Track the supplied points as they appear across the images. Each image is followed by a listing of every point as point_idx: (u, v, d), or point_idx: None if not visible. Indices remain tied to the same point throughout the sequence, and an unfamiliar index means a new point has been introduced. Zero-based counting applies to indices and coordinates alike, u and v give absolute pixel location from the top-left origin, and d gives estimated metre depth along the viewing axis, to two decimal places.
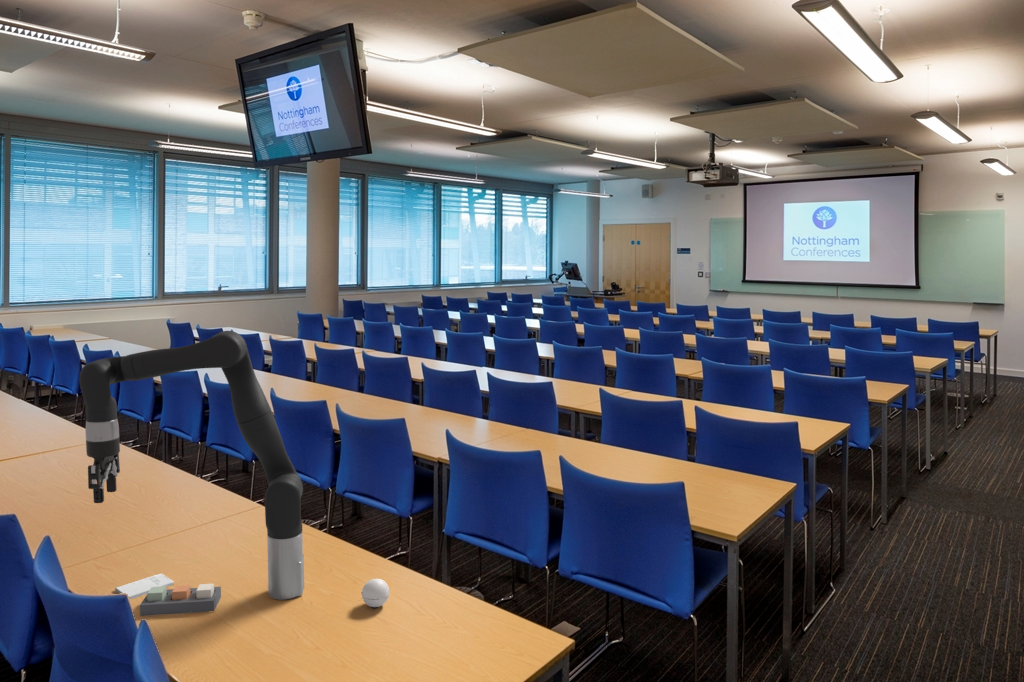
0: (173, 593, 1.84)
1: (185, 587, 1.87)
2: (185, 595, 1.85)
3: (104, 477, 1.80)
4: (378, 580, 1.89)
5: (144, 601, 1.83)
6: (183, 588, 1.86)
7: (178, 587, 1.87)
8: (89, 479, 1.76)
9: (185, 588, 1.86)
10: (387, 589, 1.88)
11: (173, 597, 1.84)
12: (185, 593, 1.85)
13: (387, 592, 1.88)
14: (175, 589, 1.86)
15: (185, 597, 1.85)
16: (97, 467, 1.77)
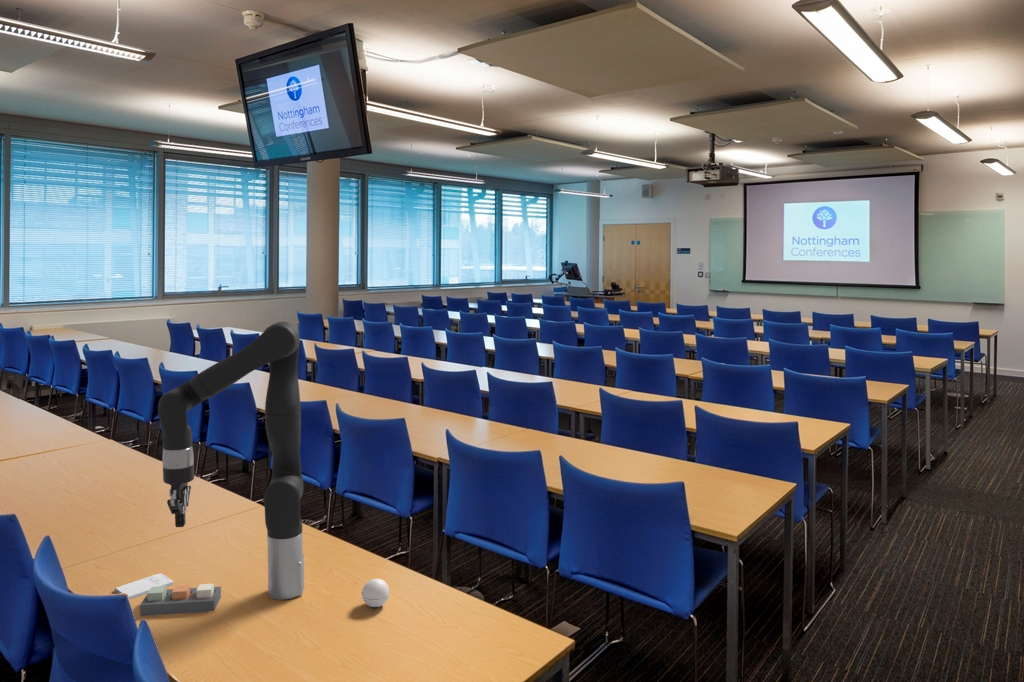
0: (173, 593, 1.84)
1: (185, 587, 1.87)
2: (185, 595, 1.85)
3: (183, 504, 1.87)
4: (378, 580, 1.89)
5: (144, 601, 1.83)
6: (183, 588, 1.86)
7: (178, 587, 1.87)
8: (171, 509, 1.84)
9: (185, 588, 1.86)
10: (387, 589, 1.88)
11: (173, 597, 1.84)
12: (185, 593, 1.85)
13: (387, 592, 1.88)
14: (175, 589, 1.86)
15: (185, 597, 1.85)
16: (176, 503, 1.82)
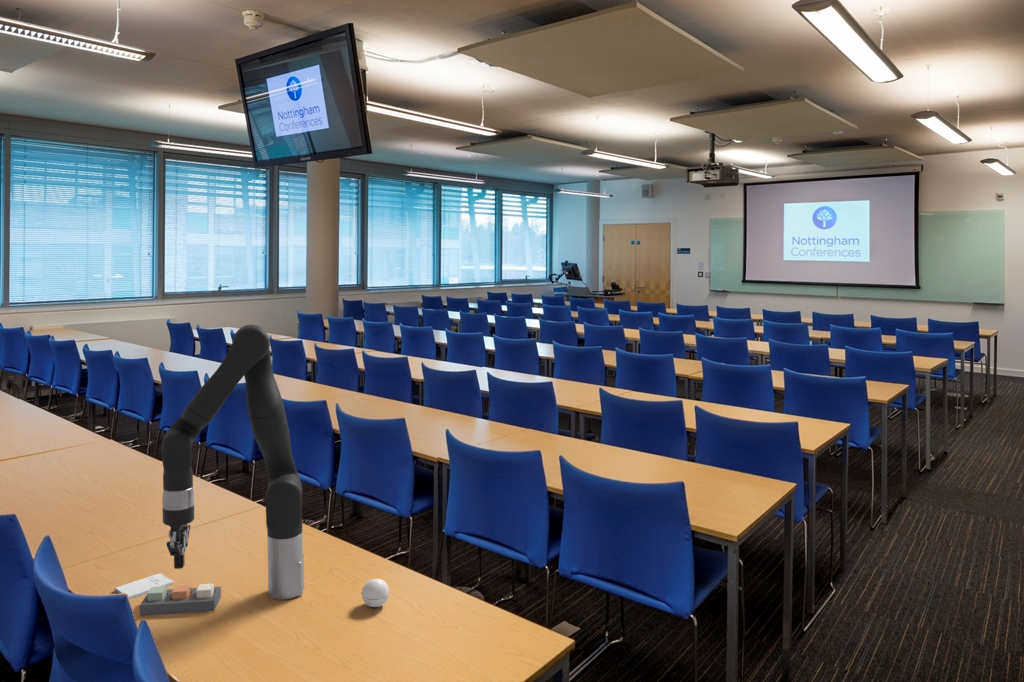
0: (173, 593, 1.84)
1: (185, 587, 1.87)
2: (185, 595, 1.85)
3: (183, 546, 1.84)
4: (378, 580, 1.89)
5: (144, 601, 1.83)
6: (183, 588, 1.86)
7: (178, 587, 1.87)
8: (170, 551, 1.81)
9: (185, 588, 1.86)
10: (387, 589, 1.88)
11: (173, 597, 1.84)
12: (185, 593, 1.85)
13: (387, 592, 1.88)
14: (175, 589, 1.86)
15: (185, 597, 1.85)
16: (176, 545, 1.79)
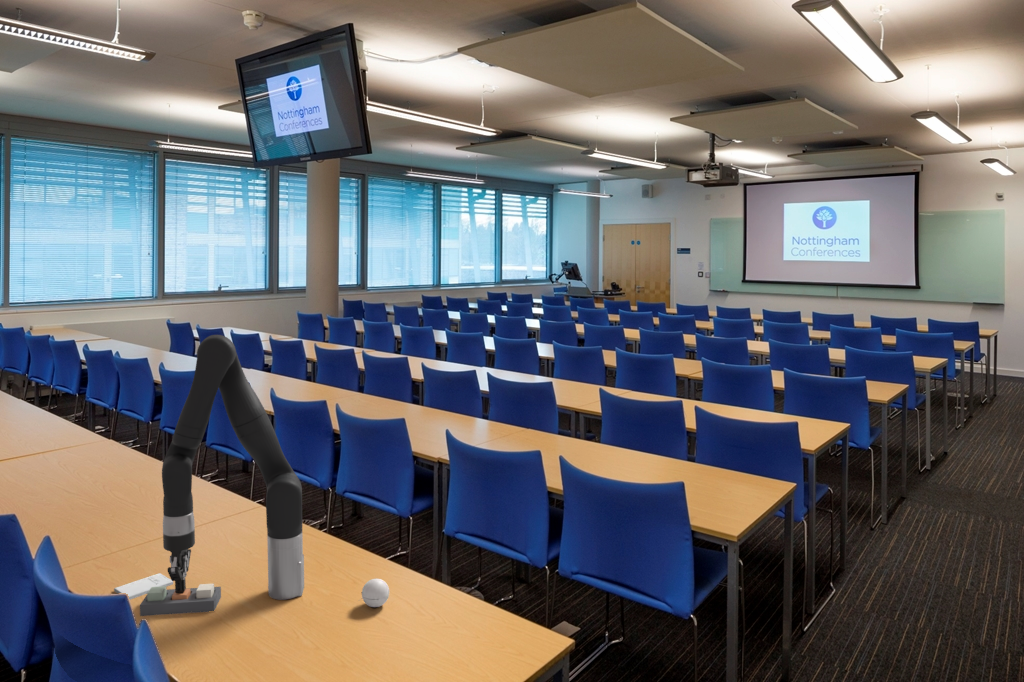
0: (173, 597, 1.84)
1: (185, 590, 1.87)
2: None
3: (183, 571, 1.84)
4: (378, 580, 1.89)
5: (144, 601, 1.83)
6: None
7: None
8: (171, 577, 1.81)
9: (185, 592, 1.86)
10: (387, 589, 1.88)
11: None
12: (185, 597, 1.85)
13: (387, 592, 1.88)
14: (175, 593, 1.86)
15: None
16: (176, 570, 1.80)
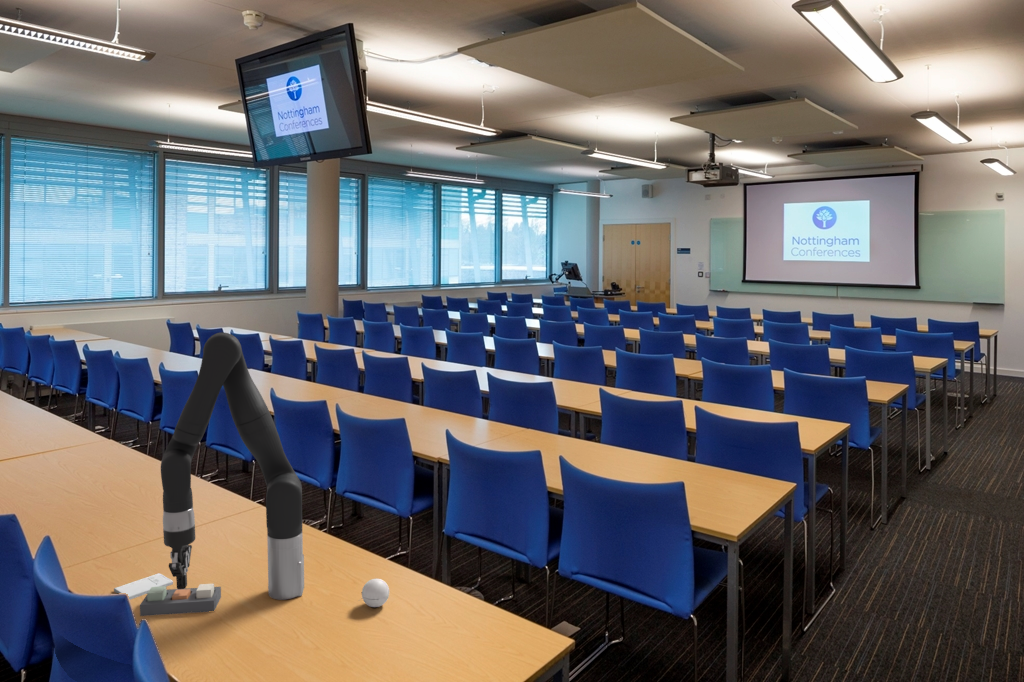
0: (173, 597, 1.84)
1: (185, 591, 1.87)
2: None
3: (185, 566, 1.84)
4: (378, 580, 1.89)
5: (144, 601, 1.83)
6: (183, 592, 1.86)
7: (178, 591, 1.87)
8: (172, 572, 1.81)
9: (185, 593, 1.86)
10: (387, 589, 1.88)
11: None
12: (185, 597, 1.85)
13: (387, 592, 1.88)
14: (175, 593, 1.86)
15: None
16: (177, 566, 1.79)
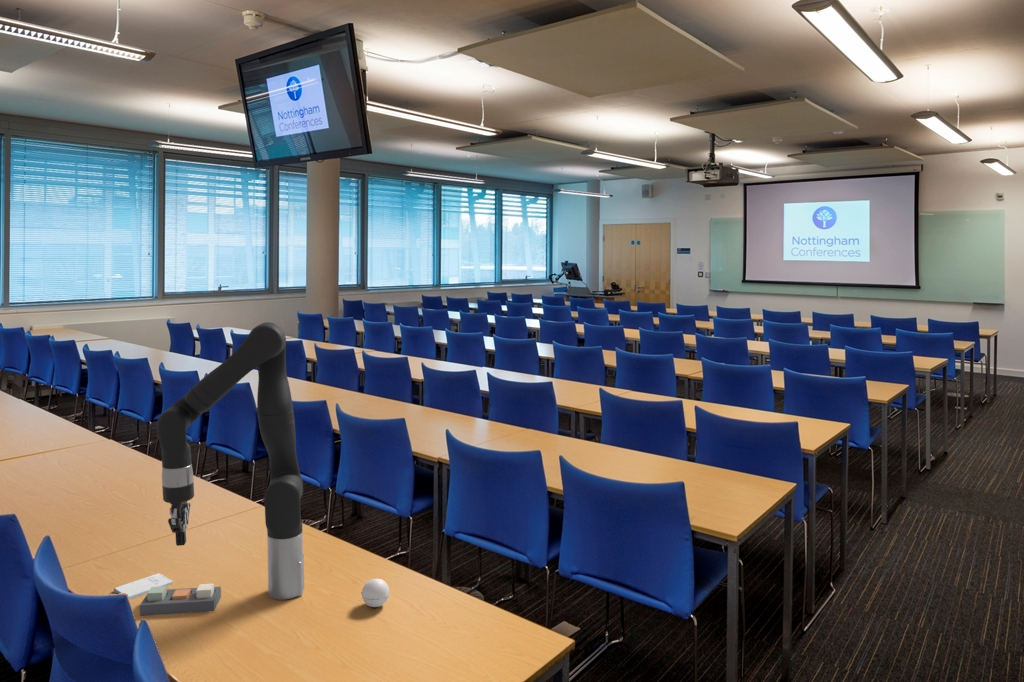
0: (173, 597, 1.84)
1: (185, 591, 1.87)
2: None
3: (184, 522, 1.86)
4: (378, 580, 1.89)
5: (144, 601, 1.83)
6: (183, 592, 1.86)
7: (178, 591, 1.87)
8: (172, 528, 1.83)
9: (185, 593, 1.86)
10: (387, 589, 1.88)
11: None
12: (185, 597, 1.85)
13: (387, 592, 1.88)
14: (175, 593, 1.86)
15: None
16: (177, 521, 1.82)
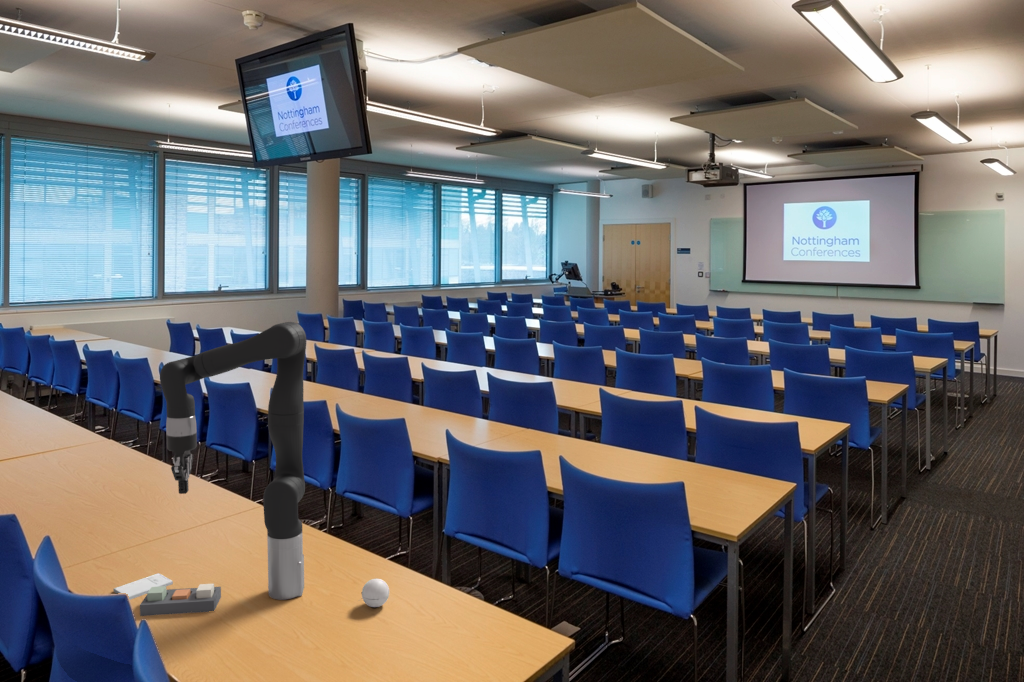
0: (173, 597, 1.84)
1: (185, 591, 1.87)
2: None
3: (186, 471, 1.93)
4: (378, 580, 1.89)
5: (144, 601, 1.83)
6: (183, 592, 1.86)
7: (178, 591, 1.87)
8: (174, 476, 1.90)
9: (185, 593, 1.86)
10: (387, 589, 1.88)
11: None
12: (185, 597, 1.85)
13: (387, 592, 1.88)
14: (175, 593, 1.86)
15: None
16: (180, 469, 1.89)
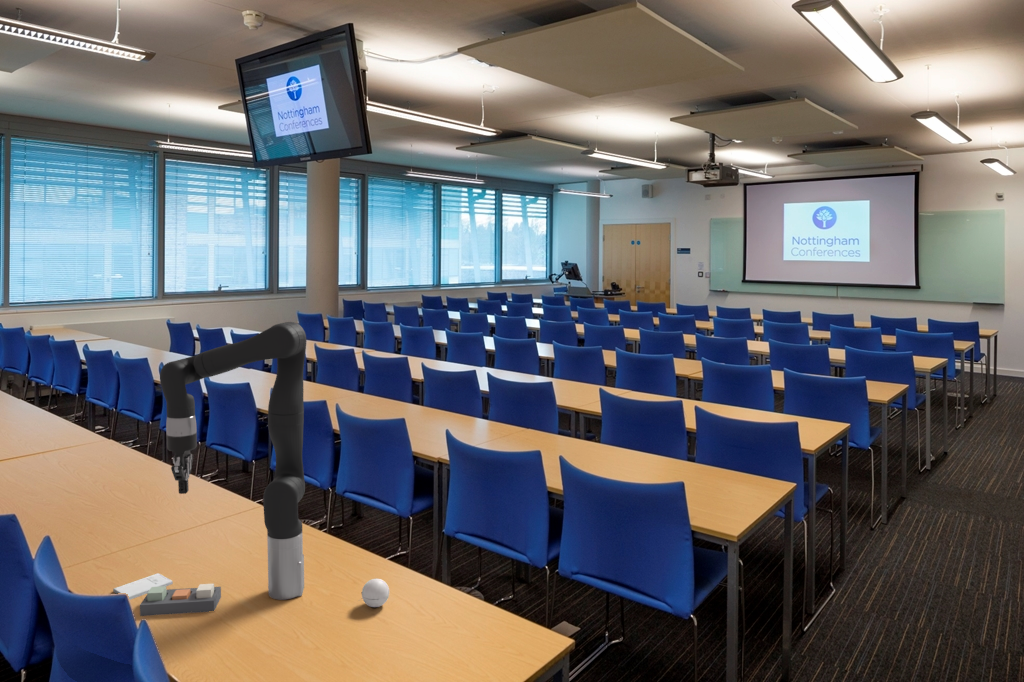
0: (173, 597, 1.84)
1: (185, 591, 1.87)
2: None
3: (186, 471, 1.93)
4: (378, 580, 1.89)
5: (144, 601, 1.83)
6: (183, 592, 1.86)
7: (178, 591, 1.87)
8: (174, 476, 1.90)
9: (185, 593, 1.86)
10: (387, 589, 1.88)
11: None
12: (185, 597, 1.85)
13: (387, 592, 1.88)
14: (175, 593, 1.86)
15: None
16: (180, 469, 1.89)
